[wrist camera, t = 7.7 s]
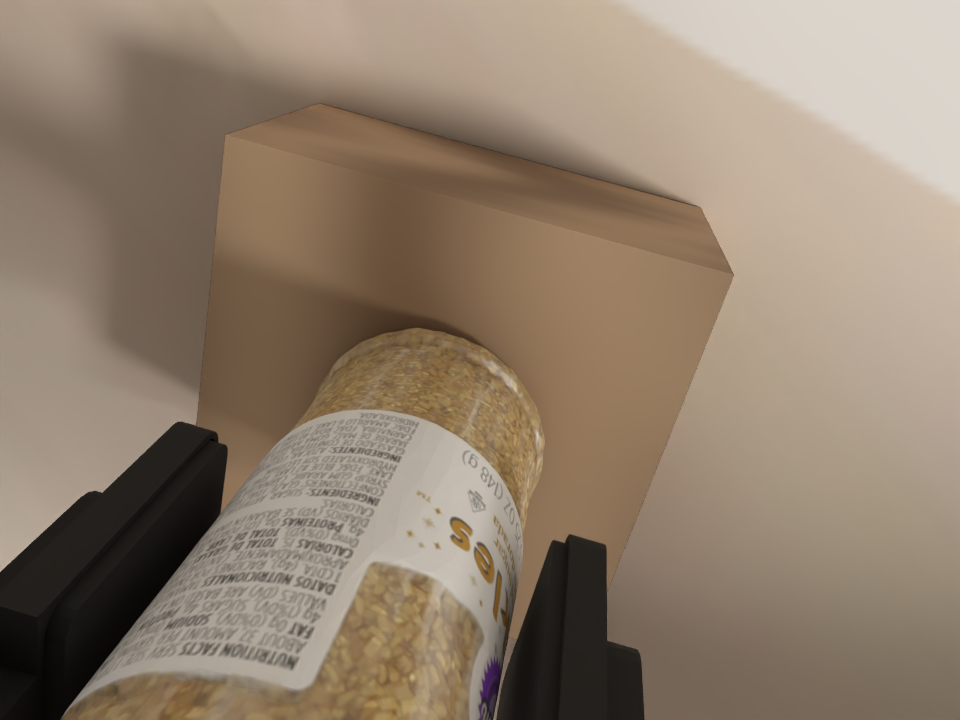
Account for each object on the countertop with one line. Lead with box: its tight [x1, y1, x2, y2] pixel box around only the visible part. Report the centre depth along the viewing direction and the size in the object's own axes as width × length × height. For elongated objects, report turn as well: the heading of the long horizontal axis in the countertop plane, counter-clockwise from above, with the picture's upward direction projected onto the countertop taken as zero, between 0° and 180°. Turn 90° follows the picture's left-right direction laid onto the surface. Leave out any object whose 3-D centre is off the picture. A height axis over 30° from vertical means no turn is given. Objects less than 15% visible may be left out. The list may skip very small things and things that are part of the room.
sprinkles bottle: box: [61, 328, 545, 720], centre depth 9 cm, size 5×5×13 cm
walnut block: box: [196, 104, 734, 640], centre depth 18 cm, size 9×9×5 cm
